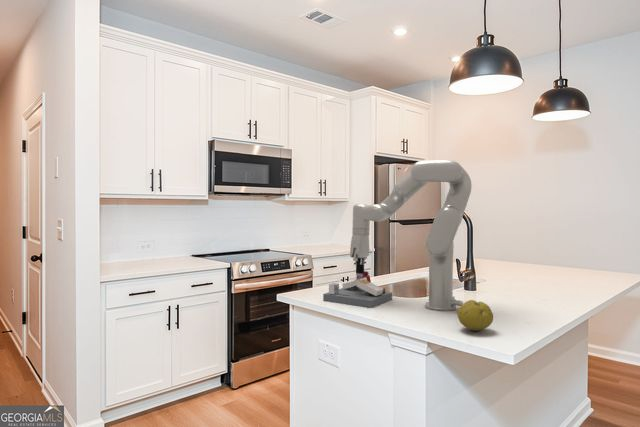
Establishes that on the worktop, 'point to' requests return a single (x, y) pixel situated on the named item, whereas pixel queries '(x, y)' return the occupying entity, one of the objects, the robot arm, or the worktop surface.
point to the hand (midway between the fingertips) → (359, 273)
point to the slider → (333, 288)
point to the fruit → (475, 315)
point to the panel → (358, 297)
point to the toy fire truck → (363, 276)
